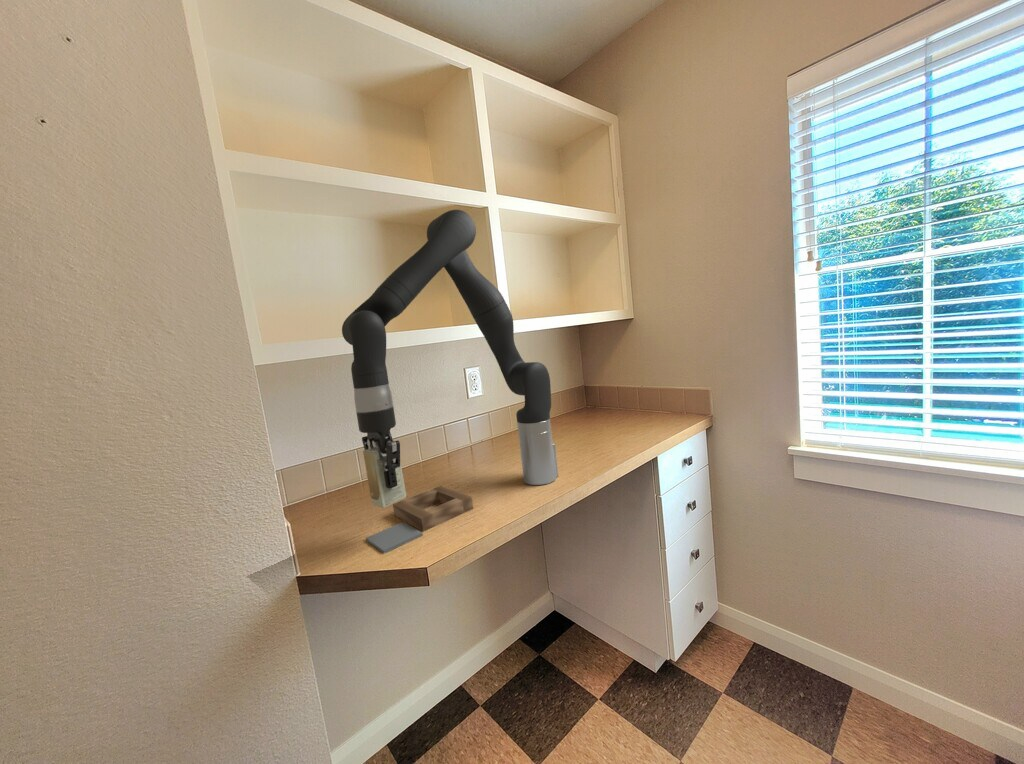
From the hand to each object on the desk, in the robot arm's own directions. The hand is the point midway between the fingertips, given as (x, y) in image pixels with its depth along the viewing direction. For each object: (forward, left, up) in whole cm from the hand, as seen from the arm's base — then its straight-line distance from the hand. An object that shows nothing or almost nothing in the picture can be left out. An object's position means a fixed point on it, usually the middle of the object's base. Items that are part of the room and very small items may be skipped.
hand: (386, 484), depth 87 cm
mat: (0, 0, -12) cm, 12 cm away
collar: (-12, -4, -12) cm, 18 cm away
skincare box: (0, 0, -4) cm, 4 cm away
